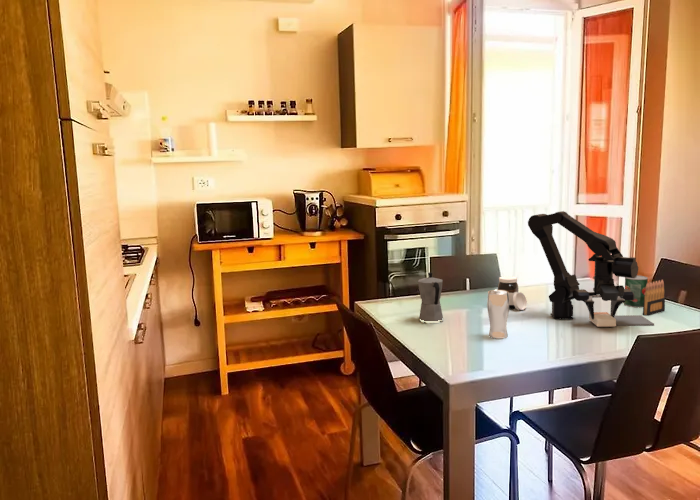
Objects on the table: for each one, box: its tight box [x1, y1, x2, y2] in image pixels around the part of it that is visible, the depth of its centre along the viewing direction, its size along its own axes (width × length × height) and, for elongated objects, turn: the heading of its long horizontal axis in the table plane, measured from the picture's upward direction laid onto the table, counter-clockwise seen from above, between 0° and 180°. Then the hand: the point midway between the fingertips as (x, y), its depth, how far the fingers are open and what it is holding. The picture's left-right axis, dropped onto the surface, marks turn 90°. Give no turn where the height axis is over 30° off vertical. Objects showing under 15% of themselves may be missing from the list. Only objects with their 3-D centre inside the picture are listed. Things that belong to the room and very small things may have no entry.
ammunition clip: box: [642, 279, 666, 317], centre depth 206 cm, size 11×2×12 cm, turn 120°
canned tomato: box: [623, 274, 649, 308], centre depth 218 cm, size 8×8×11 cm
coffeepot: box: [417, 272, 444, 321], centre depth 206 cm, size 15×9×18 cm, turn 10°
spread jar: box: [497, 275, 528, 311], centre depth 222 cm, size 12×11×12 cm
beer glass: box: [486, 289, 510, 340], centre depth 185 cm, size 7×7×15 cm
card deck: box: [588, 311, 617, 327], centre depth 195 cm, size 6×9×2 cm, turn 174°
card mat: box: [614, 314, 655, 327], centre depth 198 cm, size 12×11×1 cm
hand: (602, 319), depth 195 cm, fingers closed on card deck, 6 cm apart
